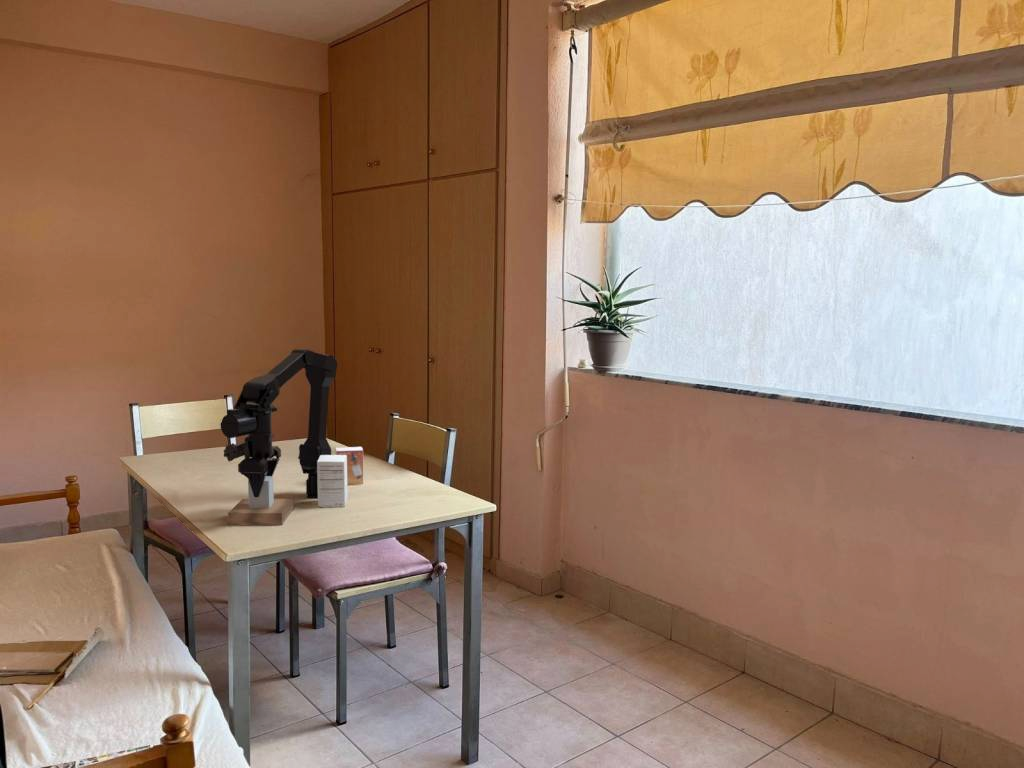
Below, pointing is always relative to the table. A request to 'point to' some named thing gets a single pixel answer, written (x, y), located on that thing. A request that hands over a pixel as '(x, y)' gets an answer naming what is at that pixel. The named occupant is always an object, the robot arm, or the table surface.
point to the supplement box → (332, 480)
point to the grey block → (262, 495)
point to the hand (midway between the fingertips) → (261, 492)
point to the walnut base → (260, 513)
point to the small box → (353, 464)
